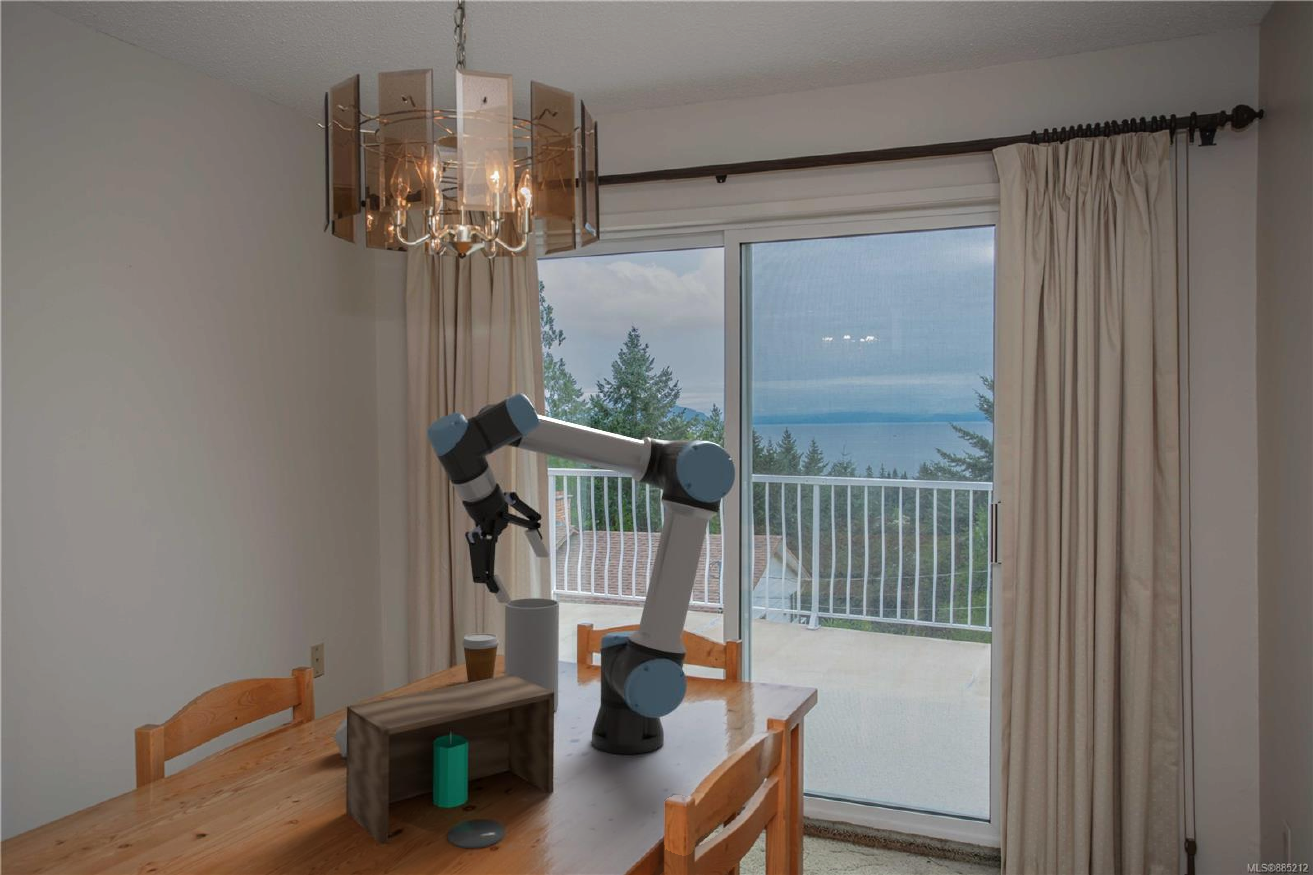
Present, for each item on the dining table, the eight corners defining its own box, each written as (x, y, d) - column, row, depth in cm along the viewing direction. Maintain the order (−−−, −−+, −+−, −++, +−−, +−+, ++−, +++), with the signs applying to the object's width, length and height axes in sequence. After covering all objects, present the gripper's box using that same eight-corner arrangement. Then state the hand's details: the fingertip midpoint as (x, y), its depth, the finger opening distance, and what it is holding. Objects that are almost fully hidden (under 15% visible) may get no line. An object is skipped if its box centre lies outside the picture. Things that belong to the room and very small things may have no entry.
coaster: (511, 824, 144) (511, 820, 144) (496, 849, 135) (496, 846, 135) (458, 821, 145) (458, 818, 145) (440, 847, 136) (440, 843, 136)
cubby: (346, 812, 148) (346, 706, 148) (510, 767, 169) (511, 674, 169) (381, 844, 136) (382, 729, 136) (553, 792, 157) (554, 692, 157)
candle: (435, 793, 156) (436, 726, 156) (469, 792, 156) (470, 726, 156) (429, 808, 150) (430, 738, 150) (465, 807, 150) (465, 737, 150)
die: (353, 769, 168) (384, 725, 171) (318, 744, 170) (349, 701, 173) (365, 769, 176) (395, 727, 179) (332, 745, 178) (362, 704, 181)
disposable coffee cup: (455, 687, 222) (456, 640, 222) (469, 677, 231) (470, 632, 231) (491, 689, 220) (491, 642, 220) (504, 679, 229) (504, 633, 229)
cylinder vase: (568, 707, 206) (569, 601, 206) (534, 721, 196) (535, 610, 195) (528, 698, 213) (529, 596, 213) (493, 712, 202) (493, 604, 202)
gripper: (502, 454, 174) (543, 538, 183) (423, 532, 156) (473, 620, 165) (530, 453, 170) (571, 538, 179) (453, 533, 152) (502, 623, 161)
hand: (524, 578), depth 172 cm, fingers open, 13 cm apart
